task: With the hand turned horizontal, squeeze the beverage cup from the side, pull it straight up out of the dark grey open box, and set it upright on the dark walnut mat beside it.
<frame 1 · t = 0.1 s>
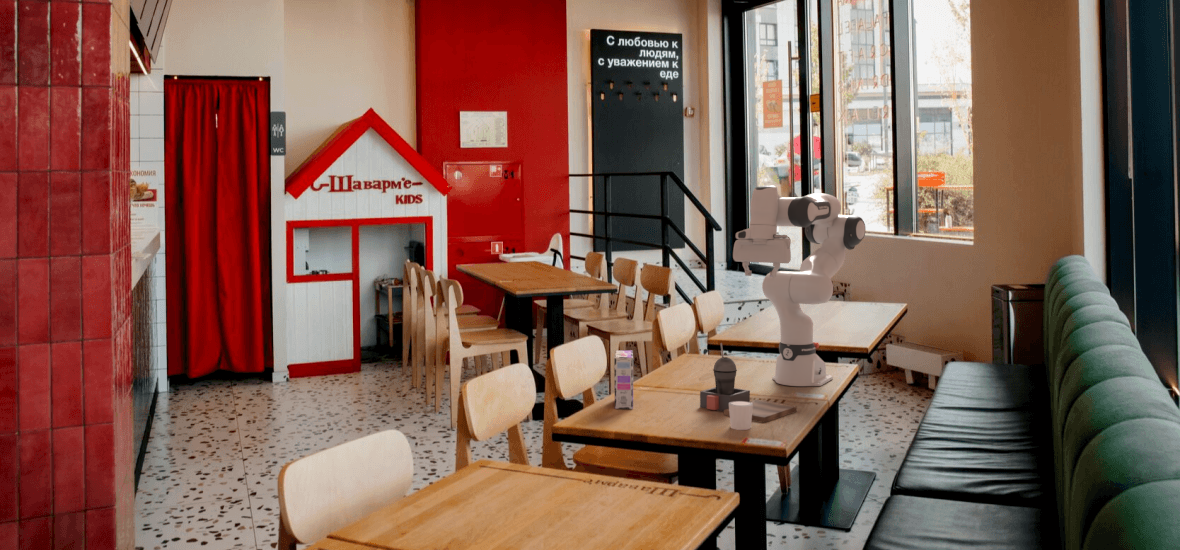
hand: (760, 276, 298), 39 cm above the table, tool pointing down, fingers open, 8 cm apart
candy box: (624, 405, 288), on the table
beverage cup: (724, 407, 283), resting in dark grey open box
dark grey open box: (724, 406, 283), on the table
white cup: (740, 428, 258), on the table
walnut mat: (760, 413, 274), on the table
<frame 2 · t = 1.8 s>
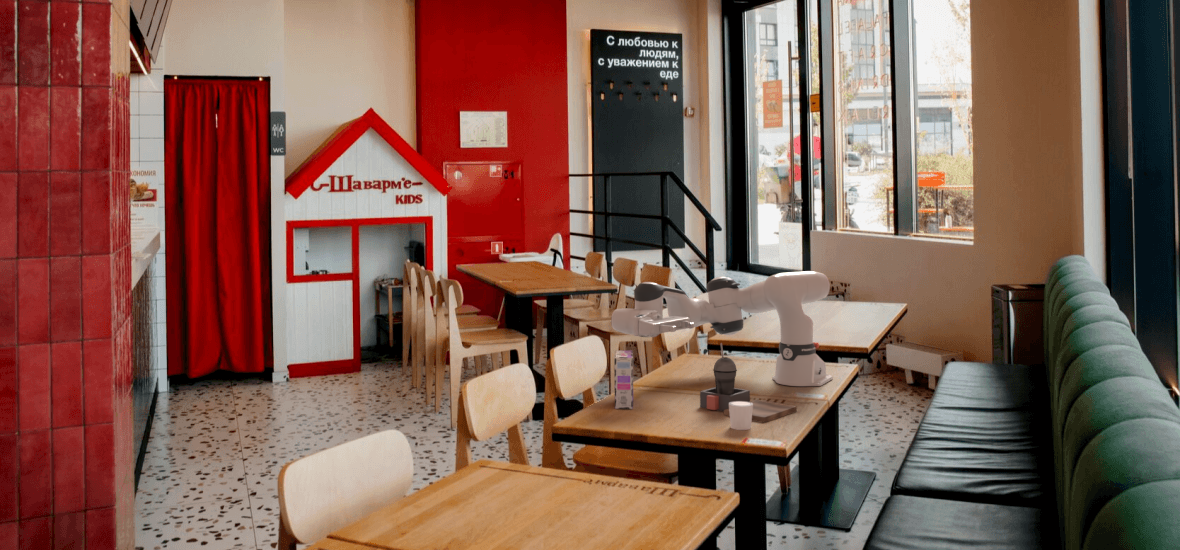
hand: (683, 327, 292), 23 cm above the table, tool horizontal, fingers open, 8 cm apart
nothing on the table moved.
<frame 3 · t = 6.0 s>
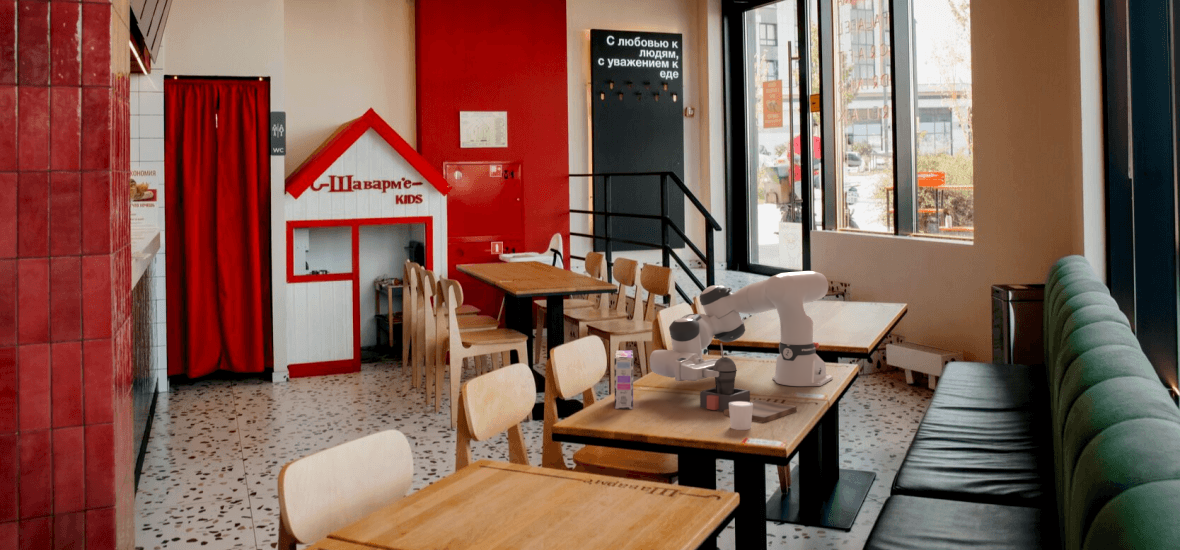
hand: (727, 372, 282), 11 cm above the table, tool horizontal, fingers closed on beverage cup, 7 cm apart
beverage cup: (724, 407, 283), resting in dark grey open box, touching gripper
everything else where it was.
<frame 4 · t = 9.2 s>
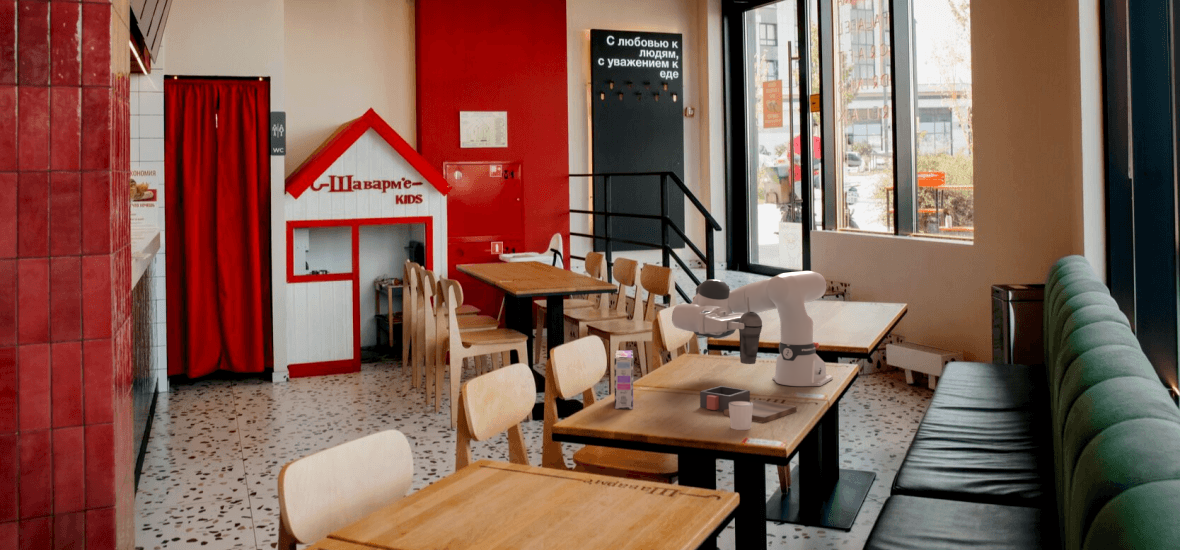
hand: (752, 324, 273), 27 cm above the table, tool horizontal, fingers closed on beverage cup, 7 cm apart
beverage cup: (747, 363, 275), point 15 cm above the table, touching gripper
everything else where it was.
when the fingers open (14 cm above the table, at t = 12.5 s): beverage cup stays where it is, resting on walnut mat.
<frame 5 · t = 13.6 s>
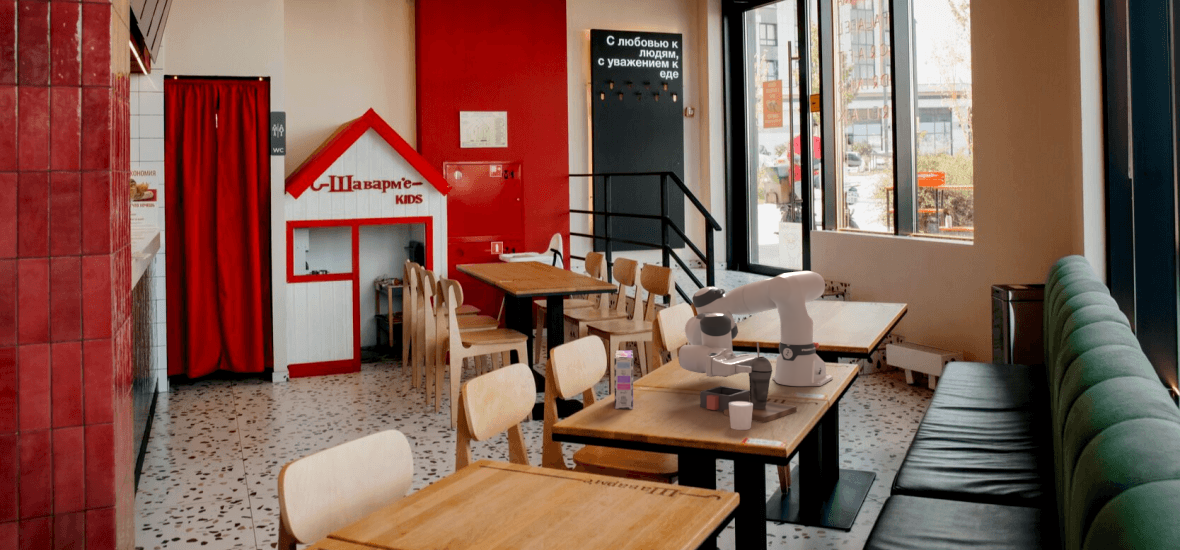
hand: (760, 367, 273), 14 cm above the table, tool horizontal, fingers open, 8 cm apart
beverage cup: (758, 408, 275), point 1 cm above the table, touching walnut mat
everything else where it was.
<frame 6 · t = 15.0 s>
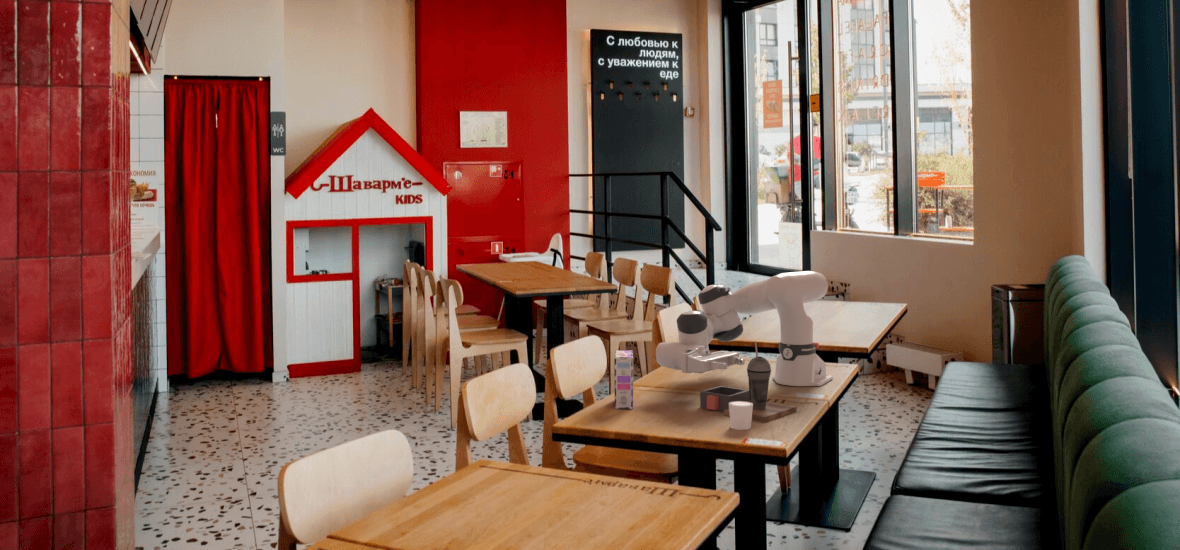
hand: (734, 364, 279), 14 cm above the table, tool horizontal, fingers open, 8 cm apart
nothing on the table moved.
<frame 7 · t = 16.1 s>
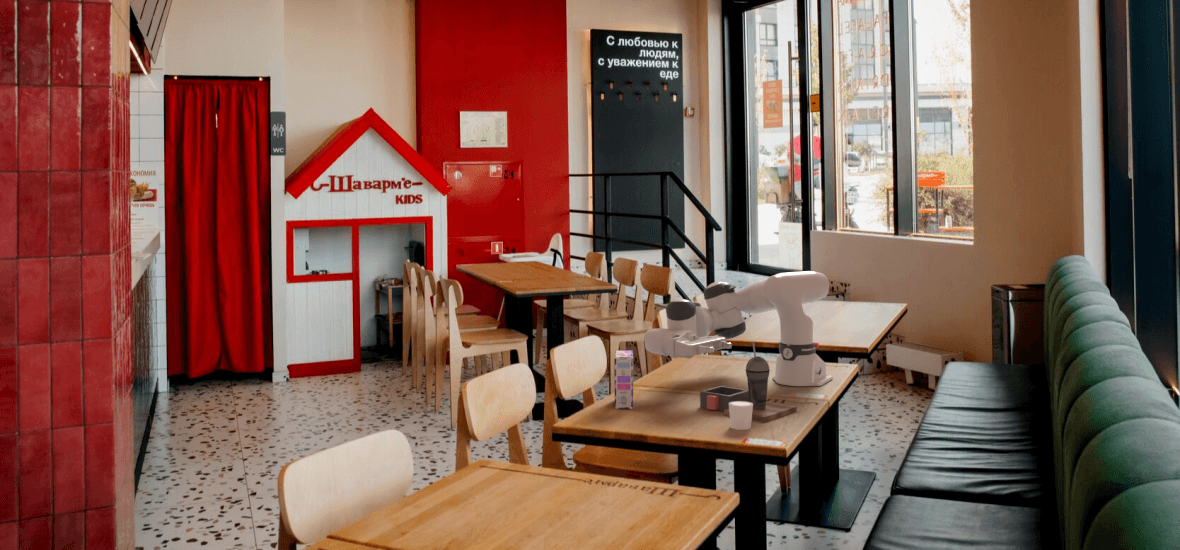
hand: (721, 348, 283), 18 cm above the table, tool horizontal, fingers open, 8 cm apart
nothing on the table moved.
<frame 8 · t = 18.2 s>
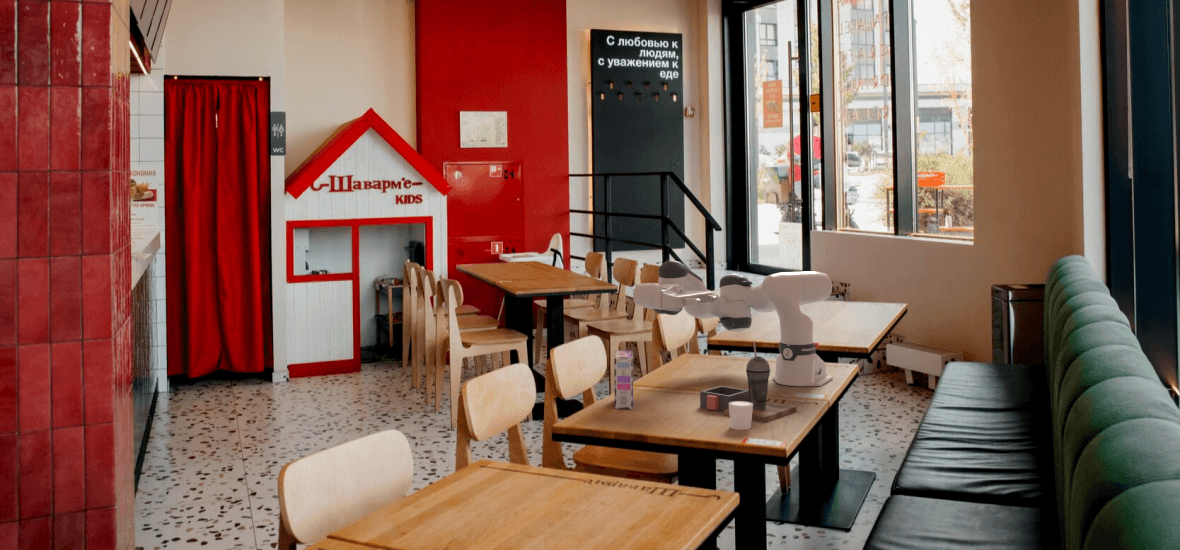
hand: (707, 300, 292), 32 cm above the table, tool horizontal, fingers open, 8 cm apart
nothing on the table moved.
at the end: beverage cup inside the target area (1.4 cm from its centre), point 1.3 cm above the table; beverage cup tilted 0°; the gripper is holding nothing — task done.
